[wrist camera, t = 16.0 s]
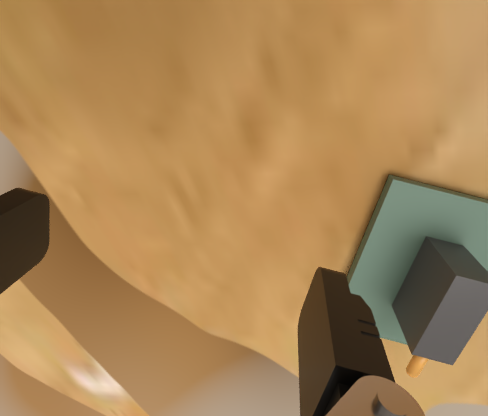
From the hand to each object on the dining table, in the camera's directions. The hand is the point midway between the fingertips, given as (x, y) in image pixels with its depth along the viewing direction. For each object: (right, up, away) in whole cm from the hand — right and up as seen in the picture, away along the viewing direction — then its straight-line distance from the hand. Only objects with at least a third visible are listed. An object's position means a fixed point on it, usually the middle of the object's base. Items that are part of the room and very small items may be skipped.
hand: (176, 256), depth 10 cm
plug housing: (+20, -7, +27) cm, 35 cm away
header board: (+21, -5, +28) cm, 35 cm away
